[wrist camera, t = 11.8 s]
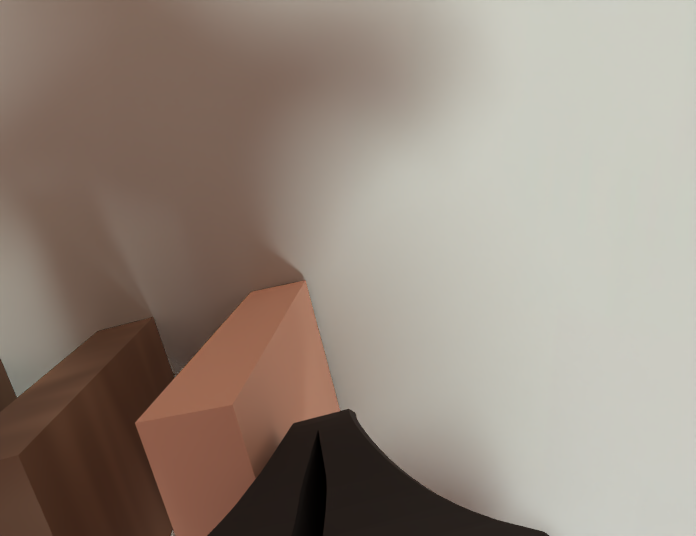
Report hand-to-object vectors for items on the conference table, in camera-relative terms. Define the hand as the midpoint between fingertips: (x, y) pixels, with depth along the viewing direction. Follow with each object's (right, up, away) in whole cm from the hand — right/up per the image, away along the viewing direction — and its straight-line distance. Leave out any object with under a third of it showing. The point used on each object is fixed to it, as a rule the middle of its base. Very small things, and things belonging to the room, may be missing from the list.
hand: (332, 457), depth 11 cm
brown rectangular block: (-6, 0, +6) cm, 9 cm away
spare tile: (-1, +1, +6) cm, 6 cm away
